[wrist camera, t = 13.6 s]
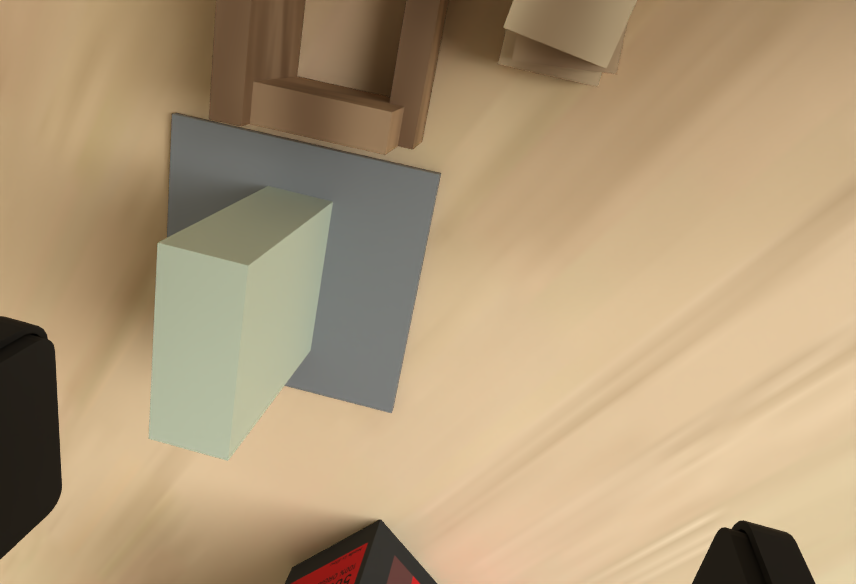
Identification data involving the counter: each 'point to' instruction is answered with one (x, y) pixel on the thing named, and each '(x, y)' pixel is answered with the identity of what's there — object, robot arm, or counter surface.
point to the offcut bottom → (553, 71)
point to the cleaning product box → (362, 561)
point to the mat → (346, 245)
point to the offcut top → (573, 25)
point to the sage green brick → (234, 316)
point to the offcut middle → (560, 55)
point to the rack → (313, 100)
